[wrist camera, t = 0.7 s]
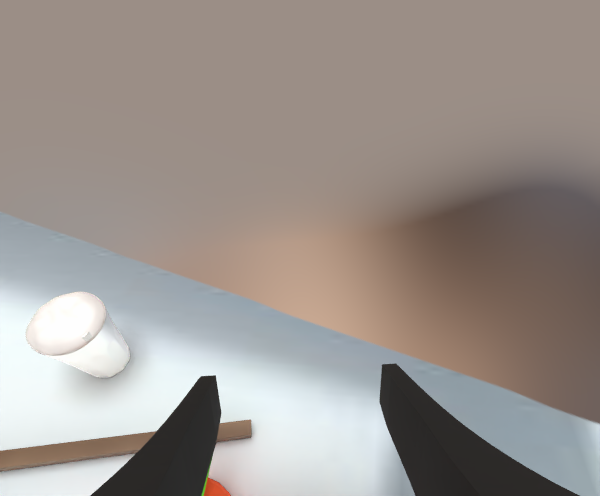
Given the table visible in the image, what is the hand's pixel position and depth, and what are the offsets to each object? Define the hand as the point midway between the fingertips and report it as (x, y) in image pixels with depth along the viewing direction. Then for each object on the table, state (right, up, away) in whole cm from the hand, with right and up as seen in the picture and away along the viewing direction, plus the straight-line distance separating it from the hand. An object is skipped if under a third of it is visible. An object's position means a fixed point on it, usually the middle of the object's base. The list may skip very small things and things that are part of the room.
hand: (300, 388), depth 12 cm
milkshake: (-17, -4, +14) cm, 22 cm away
